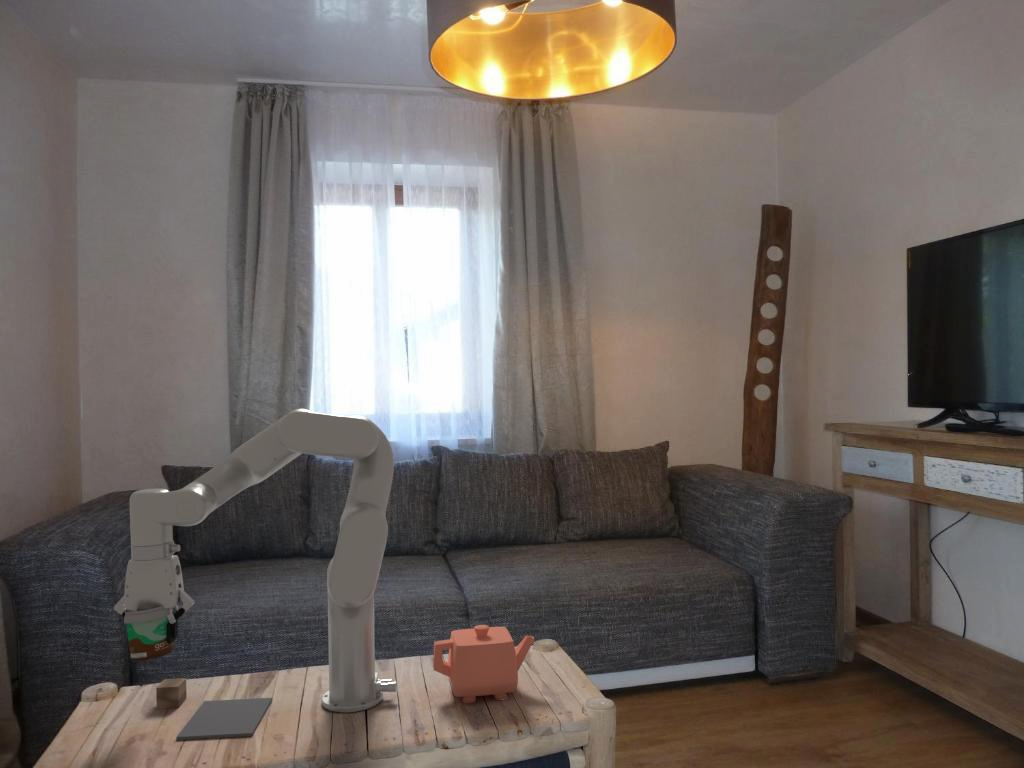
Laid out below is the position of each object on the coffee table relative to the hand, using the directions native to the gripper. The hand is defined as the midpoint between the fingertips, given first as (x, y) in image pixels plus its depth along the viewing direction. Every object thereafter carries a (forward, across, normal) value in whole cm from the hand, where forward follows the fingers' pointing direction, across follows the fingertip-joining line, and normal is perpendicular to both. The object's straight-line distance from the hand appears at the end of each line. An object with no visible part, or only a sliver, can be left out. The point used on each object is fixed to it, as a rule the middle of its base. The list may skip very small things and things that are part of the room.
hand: (155, 641), depth 148 cm
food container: (+3, -1, 0) cm, 3 cm away
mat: (+16, -13, 0) cm, 21 cm away
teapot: (+17, -65, -7) cm, 68 cm away
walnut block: (+16, +1, -9) cm, 19 cm away
